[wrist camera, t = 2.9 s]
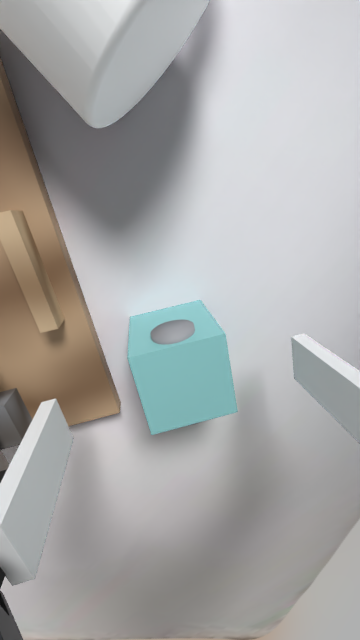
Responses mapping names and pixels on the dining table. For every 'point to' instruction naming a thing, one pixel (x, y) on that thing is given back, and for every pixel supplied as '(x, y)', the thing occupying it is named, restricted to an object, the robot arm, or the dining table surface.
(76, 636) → the dining table surface
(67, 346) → the shaft board
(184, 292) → the dining table surface
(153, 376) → the block
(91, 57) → the mug
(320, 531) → the dining table surface
